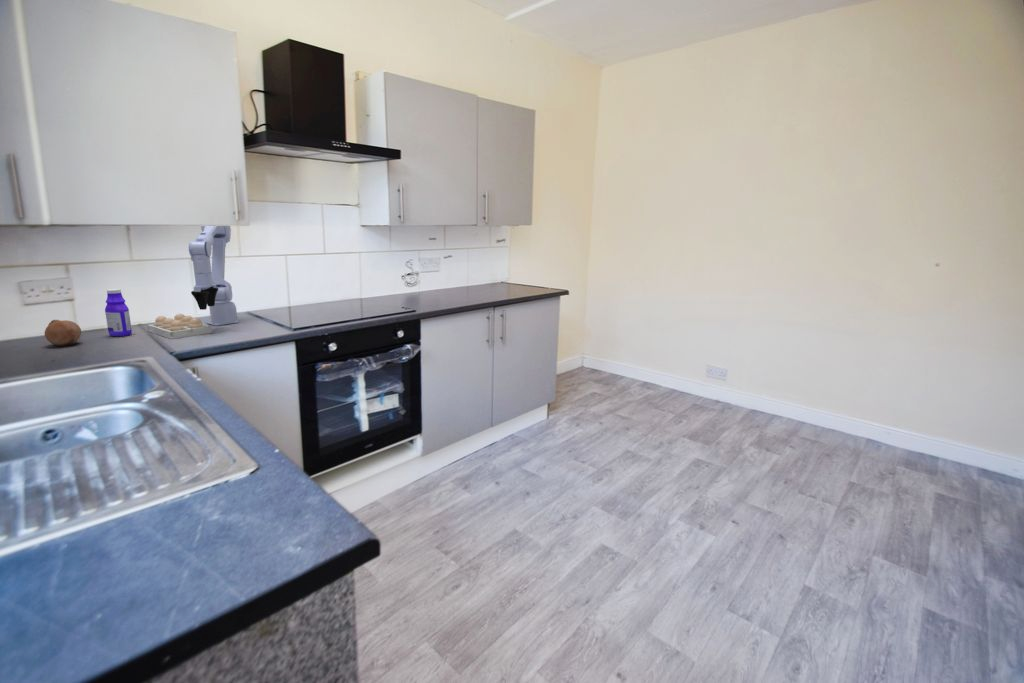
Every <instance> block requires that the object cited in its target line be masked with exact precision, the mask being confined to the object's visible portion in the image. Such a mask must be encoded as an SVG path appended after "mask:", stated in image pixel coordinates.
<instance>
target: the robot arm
mask: <svg viewBox="0 0 1024 683" xmlns="http://www.w3.org/2000/svg"><path fill="white" fill-rule="evenodd" d="M200 228H201V231H200V232H199V233H198V234H197V236H196V237H195V239H194V240H192V241H191V242H189V244H188V252H189V255H190V260H191V261H192V268H193V272H194V273H193V274H194V281H195V284H194V286H193V290H192V291H191V295H192V296H193V298H194V299H195V301H196V303H197V306H198V308H199V310H202V311H203V310H207V308H208V307H209V316H210V321H207V322H206V323H207V325H212V326H216V327H217V326H222V325H224V326H225V325H229V324H235V323H236V324H237V323H239V321H238V313H237V305H236V304H235V302H233V301H232V300H233V290H232V285H231V283H230V282H228V281H227V280H225V272H226V271H225V269H226V268H225V266H226V265H225V264H226V248H227V247H226V246H227V244H228V243H230V241H231V235H232V234H231V232H232V231H231V230H232V229H231V225H230V226H201V225H200Z"/></svg>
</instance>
